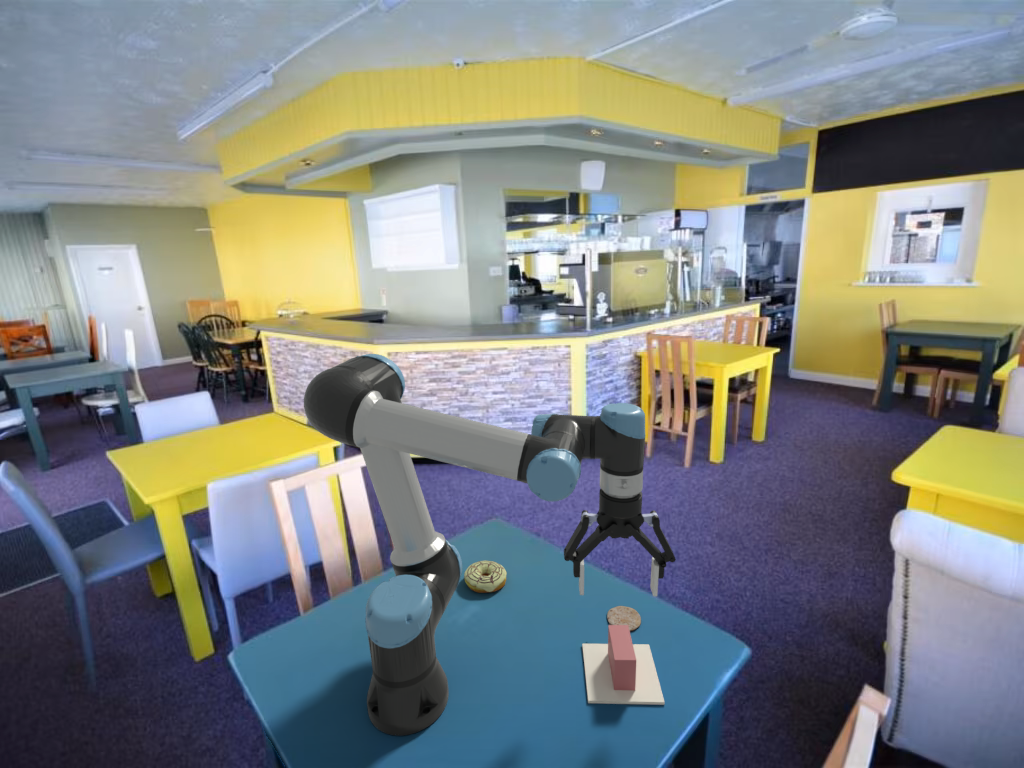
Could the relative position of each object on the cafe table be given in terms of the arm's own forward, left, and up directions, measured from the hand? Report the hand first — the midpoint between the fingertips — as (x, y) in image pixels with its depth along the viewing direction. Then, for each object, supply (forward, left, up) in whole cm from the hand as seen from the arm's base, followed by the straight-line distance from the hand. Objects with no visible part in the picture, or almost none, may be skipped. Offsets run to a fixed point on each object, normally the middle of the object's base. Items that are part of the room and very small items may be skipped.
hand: (617, 591), depth 96 cm
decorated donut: (-29, +28, -19) cm, 45 cm away
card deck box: (+1, 0, -18) cm, 18 cm away
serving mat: (+1, 0, -19) cm, 19 cm away
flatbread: (+4, +15, -19) cm, 25 cm away
